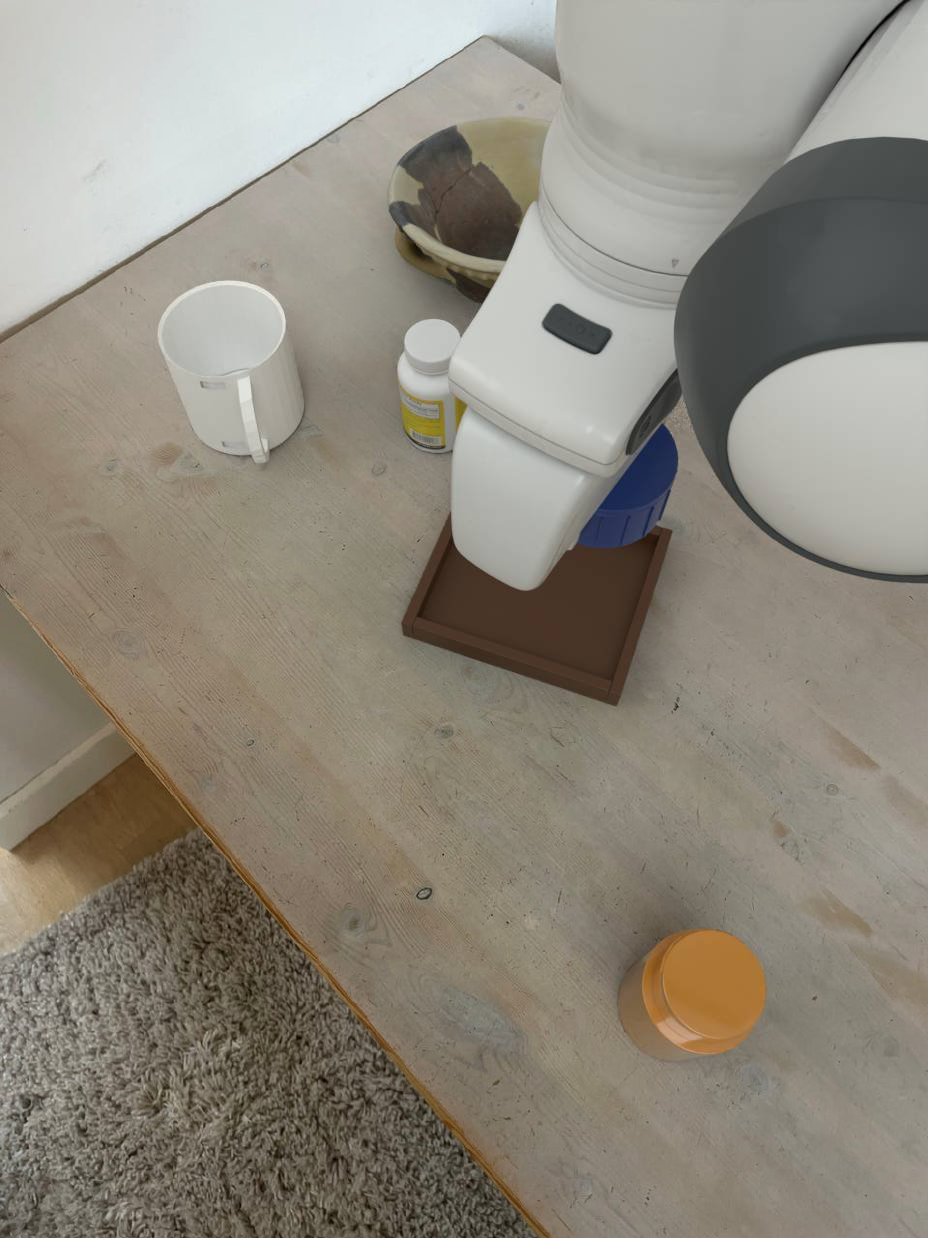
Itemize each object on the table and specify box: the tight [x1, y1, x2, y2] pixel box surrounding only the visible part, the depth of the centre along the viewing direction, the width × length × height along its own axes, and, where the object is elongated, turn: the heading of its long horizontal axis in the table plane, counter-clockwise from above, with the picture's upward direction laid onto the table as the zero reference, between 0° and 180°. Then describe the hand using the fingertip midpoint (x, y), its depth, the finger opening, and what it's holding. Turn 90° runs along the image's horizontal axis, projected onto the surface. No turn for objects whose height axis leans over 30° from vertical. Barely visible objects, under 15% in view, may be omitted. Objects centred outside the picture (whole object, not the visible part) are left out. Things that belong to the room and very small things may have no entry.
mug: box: [157, 279, 305, 465], centre depth 73 cm, size 12×9×9 cm
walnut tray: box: [401, 510, 674, 707], centre depth 69 cm, size 16×14×2 cm
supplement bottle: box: [396, 318, 468, 454], centre depth 73 cm, size 5×5×10 cm
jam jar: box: [617, 927, 767, 1063], centre depth 52 cm, size 6×6×12 cm
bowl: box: [386, 115, 552, 303], centre depth 80 cm, size 18×18×10 cm
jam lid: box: [577, 423, 679, 548], centre depth 46 cm, size 6×6×3 cm
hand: (604, 477), depth 46 cm, fingers closed on jam lid, 6 cm apart
